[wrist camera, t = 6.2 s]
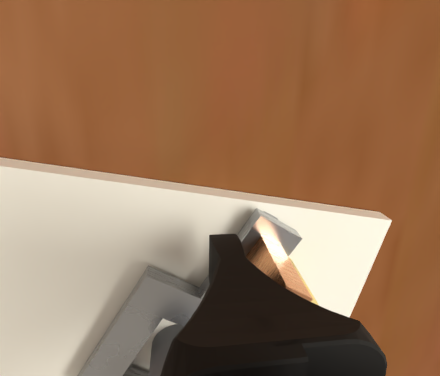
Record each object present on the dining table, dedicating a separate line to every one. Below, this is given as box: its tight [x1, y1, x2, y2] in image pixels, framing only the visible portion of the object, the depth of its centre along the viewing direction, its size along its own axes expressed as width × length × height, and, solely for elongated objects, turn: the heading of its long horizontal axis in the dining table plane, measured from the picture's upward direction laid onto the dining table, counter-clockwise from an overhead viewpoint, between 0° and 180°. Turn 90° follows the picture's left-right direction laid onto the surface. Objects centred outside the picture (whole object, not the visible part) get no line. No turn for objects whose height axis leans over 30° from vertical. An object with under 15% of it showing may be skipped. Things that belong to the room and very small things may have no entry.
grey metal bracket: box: [77, 208, 313, 376], centre depth 14 cm, size 13×8×4 cm, turn 147°
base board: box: [0, 157, 392, 376], centre depth 15 cm, size 19×18×5 cm
